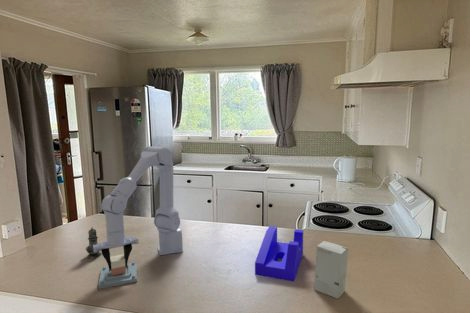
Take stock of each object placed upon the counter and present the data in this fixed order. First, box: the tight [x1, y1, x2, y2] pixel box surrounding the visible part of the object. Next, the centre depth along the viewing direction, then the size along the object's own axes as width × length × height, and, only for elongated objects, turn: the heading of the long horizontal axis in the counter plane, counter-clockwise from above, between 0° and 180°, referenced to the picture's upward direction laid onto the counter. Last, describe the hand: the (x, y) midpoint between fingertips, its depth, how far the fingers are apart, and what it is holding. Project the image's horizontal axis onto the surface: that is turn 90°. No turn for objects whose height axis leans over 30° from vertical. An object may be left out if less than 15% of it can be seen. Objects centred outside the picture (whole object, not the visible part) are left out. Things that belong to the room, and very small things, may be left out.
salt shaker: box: [85, 226, 102, 259], centre depth 123 cm, size 6×6×12 cm
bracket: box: [254, 225, 304, 282], centre depth 114 cm, size 21×14×10 cm, turn 160°
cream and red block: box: [110, 253, 126, 276], centre depth 107 cm, size 4×4×5 cm
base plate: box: [97, 261, 138, 289], centre depth 108 cm, size 12×12×2 cm
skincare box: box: [313, 240, 349, 299], centre depth 96 cm, size 8×6×15 cm
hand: (118, 266), depth 107 cm, fingers closed on cream and red block, 4 cm apart
